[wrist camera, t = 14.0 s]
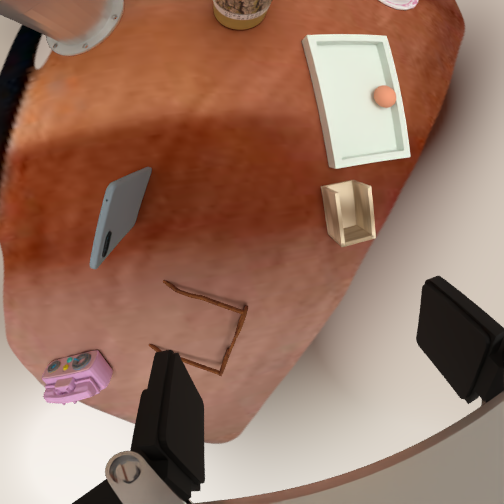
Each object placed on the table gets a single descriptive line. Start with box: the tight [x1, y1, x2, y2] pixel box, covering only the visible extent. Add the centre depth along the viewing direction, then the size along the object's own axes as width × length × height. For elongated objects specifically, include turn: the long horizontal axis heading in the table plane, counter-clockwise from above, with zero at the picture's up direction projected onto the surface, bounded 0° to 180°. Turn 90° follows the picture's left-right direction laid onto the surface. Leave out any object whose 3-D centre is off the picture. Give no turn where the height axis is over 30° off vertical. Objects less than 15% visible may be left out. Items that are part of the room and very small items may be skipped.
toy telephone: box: [42, 350, 113, 405], centre depth 41 cm, size 18×6×10 cm, turn 108°
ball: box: [374, 85, 396, 108], centre depth 33 cm, size 3×3×3 cm
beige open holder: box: [321, 180, 376, 247], centre depth 38 cm, size 7×5×5 cm
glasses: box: [149, 280, 248, 376], centre depth 43 cm, size 13×13×5 cm
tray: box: [302, 34, 410, 169], centre depth 33 cm, size 18×12×2 cm, turn 12°
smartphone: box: [90, 167, 152, 269], centre depth 30 cm, size 8×1×15 cm, turn 157°
